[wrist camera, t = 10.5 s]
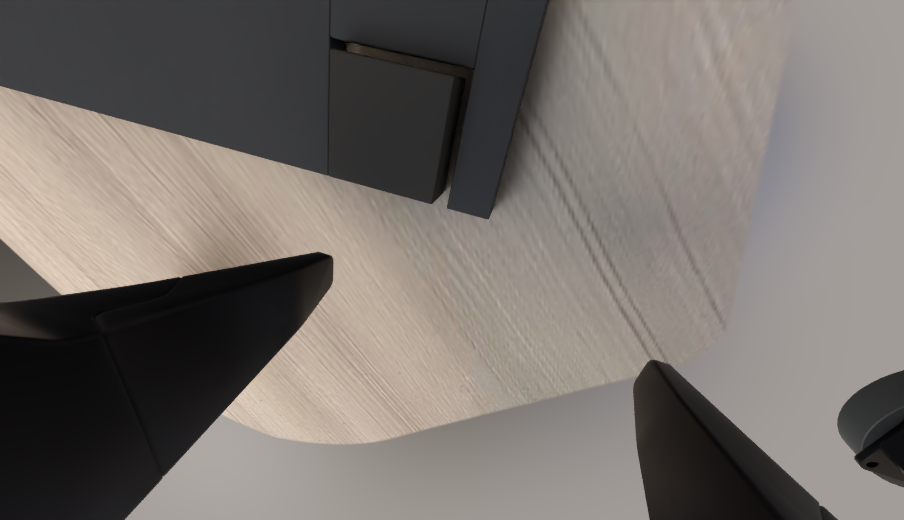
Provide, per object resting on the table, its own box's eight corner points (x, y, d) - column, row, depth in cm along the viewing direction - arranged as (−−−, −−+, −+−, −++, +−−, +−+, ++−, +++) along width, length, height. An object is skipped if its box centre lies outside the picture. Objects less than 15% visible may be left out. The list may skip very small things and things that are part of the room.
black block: (465, 78, 16) (454, 75, 14) (444, 192, 19) (432, 205, 17) (355, 53, 17) (329, 47, 15) (350, 167, 20) (327, 176, 18)
